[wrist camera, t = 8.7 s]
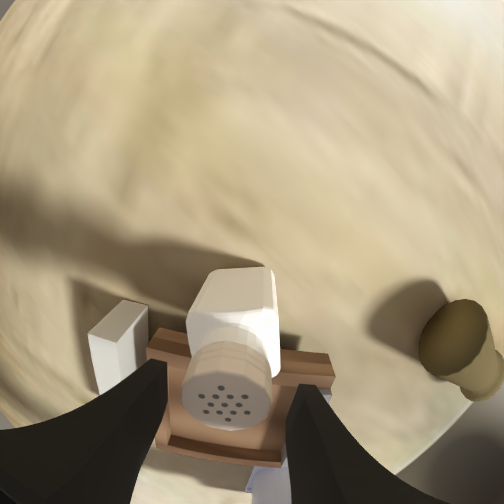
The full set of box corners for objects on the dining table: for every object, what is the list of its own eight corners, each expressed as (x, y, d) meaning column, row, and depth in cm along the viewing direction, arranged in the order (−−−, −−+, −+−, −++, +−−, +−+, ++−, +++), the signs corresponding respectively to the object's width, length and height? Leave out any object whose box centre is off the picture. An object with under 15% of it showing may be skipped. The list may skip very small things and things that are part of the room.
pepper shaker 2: (448, 290, 17) (484, 343, 19) (405, 352, 18) (451, 391, 20) (503, 313, 11) (522, 365, 13) (451, 392, 12) (484, 420, 14)
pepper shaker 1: (208, 266, 17) (154, 358, 8) (273, 262, 17) (283, 358, 8) (216, 323, 18) (182, 434, 9) (276, 320, 18) (284, 435, 9)
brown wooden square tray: (287, 435, 21) (290, 473, 16) (167, 417, 21) (154, 452, 16) (323, 342, 18) (337, 382, 14) (166, 317, 18) (142, 352, 14)
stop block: (153, 415, 21) (137, 454, 16) (134, 409, 21) (115, 446, 16) (148, 305, 18) (116, 342, 13) (123, 299, 18) (87, 333, 13)
